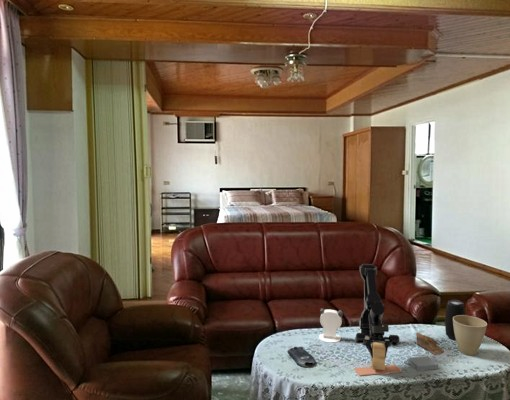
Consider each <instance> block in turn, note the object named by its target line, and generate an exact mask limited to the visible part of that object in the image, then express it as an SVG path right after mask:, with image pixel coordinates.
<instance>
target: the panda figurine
mask: <svg viewBox="0 0 510 400" xmlns="http://www.w3.org/2000/svg"><path fill="white" fill-rule="evenodd" d="M319 314H320V317H319V323H320V325H321V327H322V330H323V331H322V332H323V333H320V334H319V336H318V338H319V340H321V341H322V342H325V343H339V342H340V341H341V340H342V338H341V336H340V335H339V334H337V331H339V328H340V327H341V326H342V322H343V321H342V320H343V319H342V317H343V316H344V314H343V311H342V310H341V309H339V310H338V311H337V310H335V309H324V308H323V307H321V308H320V311H319Z"/></svg>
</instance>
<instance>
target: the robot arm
mask: <svg viewBox="0 0 510 400" xmlns="http://www.w3.org/2000/svg"><path fill="white" fill-rule="evenodd" d="M358 269H359V273H360V274H359V275H360V277H361V278H362V281H363V310H362V312H361V314H360V317H359V321H358V324H359V325H358V326H359V328H360V329H359V330H360V332H357V333H356V334H355V339H354V340H355V343H356V344H362V346H364V347H366V349H367V351H368V353H369V355H370V357H371V358H373V352H372V342H383V343H384V345H385V359H386V358H387V353H388V349H389V347H391V346H399V345H398V344H399V343H400V337H399V335H397V334H389V335H388V336H385V334H386V333H388V332H390V328H389V323H388V324H384V323H382V319H383V316H384V313H385V310H386V307H385V305H384V303H383V301H382V298H381V296H380V294H379V293H378V290H377V289H378V288H377V280H376V276H377V275H378V267H377V266H375V265H374V263H362V264H361V265H359V268H358Z"/></svg>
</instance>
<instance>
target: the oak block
mask: <svg viewBox="0 0 510 400" xmlns="http://www.w3.org/2000/svg"><path fill="white" fill-rule="evenodd" d="M371 346H372V352H373V358H372V357H371V358H370V359H371V362H370V363H371V367H373V369H381V370H385V365H386V358H385V345H384V342H378V341H373V342H371Z"/></svg>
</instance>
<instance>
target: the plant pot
mask: <svg viewBox="0 0 510 400" xmlns="http://www.w3.org/2000/svg"><path fill="white" fill-rule="evenodd" d="M453 327H454V333H455V338H456V340H455V341H456V344H457V347H458V352H459V353H461V354H463V355H465V356H476V355H477V353H478V351H479V350H480V347H481V346H482V345H481V344H482V343H483V340H484V337H485V334H486V331H487V327H488V323H487V321H485V320H484V319H481V318H479V317H476V316H470V315H466V314H465V315H458V316H454V317H453Z"/></svg>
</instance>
